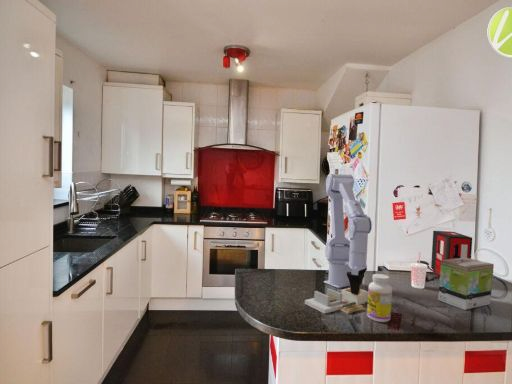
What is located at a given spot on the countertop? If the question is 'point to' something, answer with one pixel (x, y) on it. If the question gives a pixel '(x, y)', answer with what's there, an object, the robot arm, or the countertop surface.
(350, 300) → the white square open box
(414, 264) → the beverage cup
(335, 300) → the pad
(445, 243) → the cleaning product box
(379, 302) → the supplement bottle
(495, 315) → the countertop surface
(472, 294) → the tea box
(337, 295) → the white compartment tray
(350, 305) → the trough
